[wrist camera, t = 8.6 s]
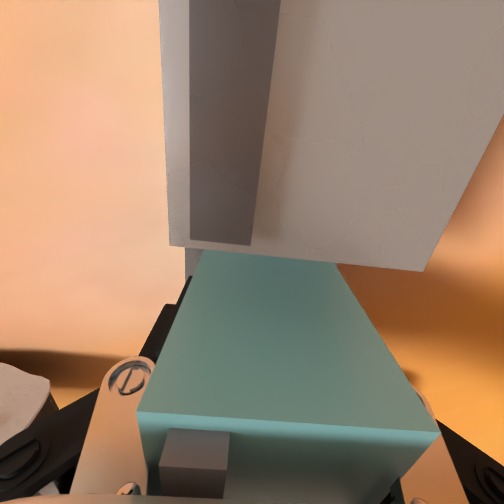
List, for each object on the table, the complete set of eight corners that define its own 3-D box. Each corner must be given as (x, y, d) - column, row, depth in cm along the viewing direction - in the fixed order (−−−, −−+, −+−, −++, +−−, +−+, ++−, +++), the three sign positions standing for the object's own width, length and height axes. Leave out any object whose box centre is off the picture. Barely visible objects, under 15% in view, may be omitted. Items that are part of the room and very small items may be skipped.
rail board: (190, -10, 9) (-270, -1067, 1) (399, 23, 9) (1178, -569, 1) (190, 386, 19) (148, 557, 11) (289, 394, 19) (312, 564, 12)
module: (209, 236, 10) (120, 449, 3) (325, 248, 10) (465, 471, 3) (205, 339, 13) (152, 572, 6) (297, 346, 13) (346, 579, 6)
